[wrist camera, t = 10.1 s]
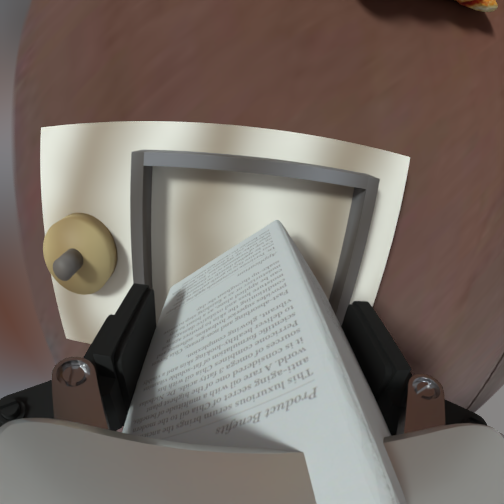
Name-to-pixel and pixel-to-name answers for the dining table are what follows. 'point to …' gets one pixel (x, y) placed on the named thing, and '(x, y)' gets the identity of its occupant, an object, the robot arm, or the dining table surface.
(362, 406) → the skincare box
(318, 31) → the dining table surface
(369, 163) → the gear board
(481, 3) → the croissant
